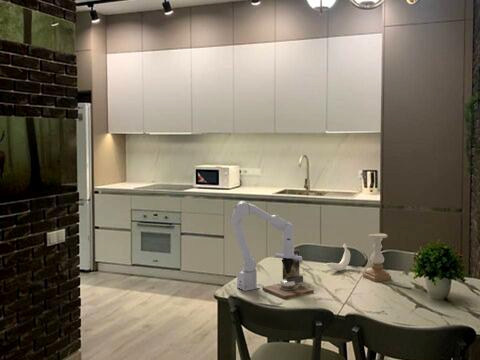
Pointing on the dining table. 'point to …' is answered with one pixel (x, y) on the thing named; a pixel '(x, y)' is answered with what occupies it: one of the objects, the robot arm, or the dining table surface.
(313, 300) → the dining table surface
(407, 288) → the dining table surface
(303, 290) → the post base
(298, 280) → the steel cap
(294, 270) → the coffee box
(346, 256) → the banana
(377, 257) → the candle holder
